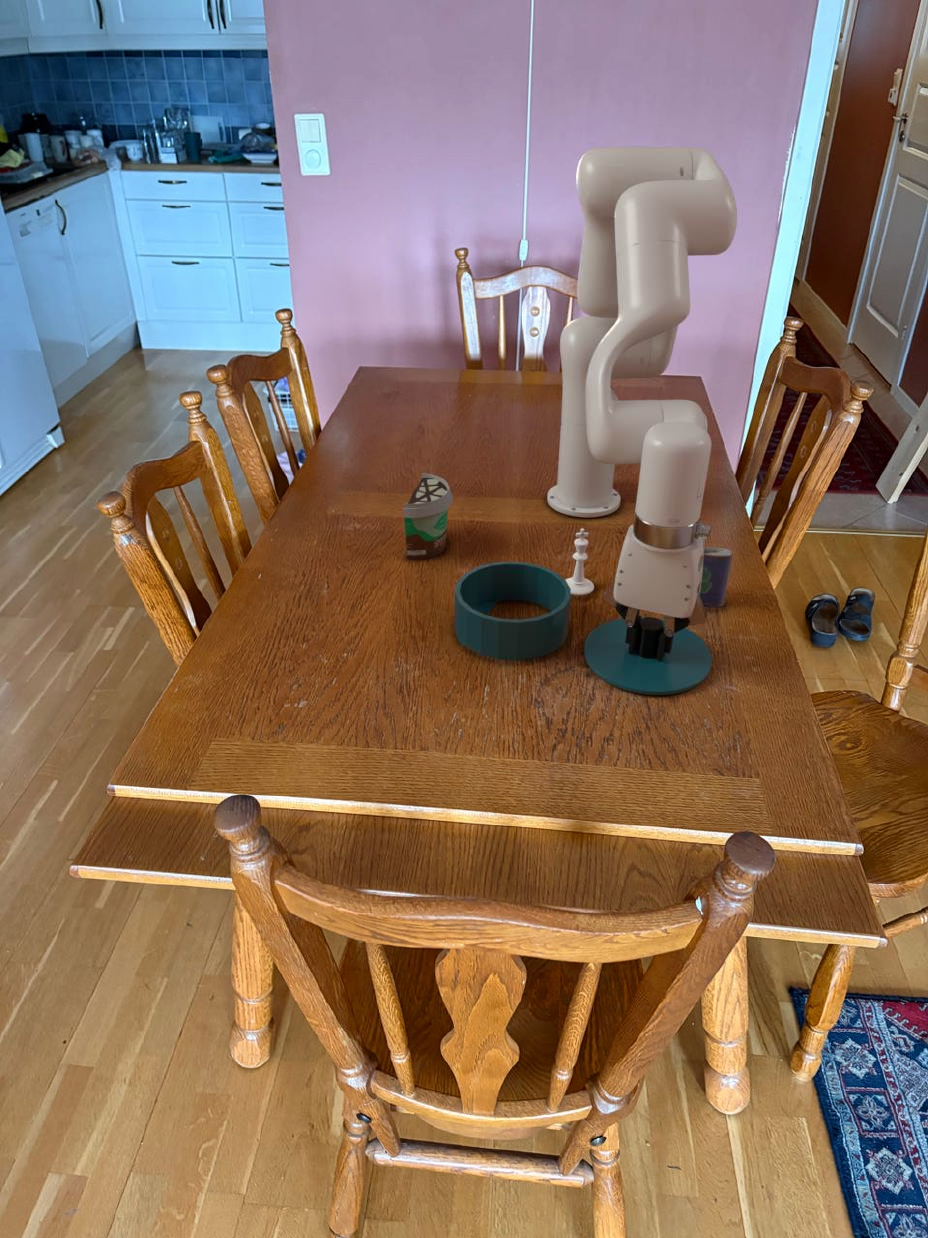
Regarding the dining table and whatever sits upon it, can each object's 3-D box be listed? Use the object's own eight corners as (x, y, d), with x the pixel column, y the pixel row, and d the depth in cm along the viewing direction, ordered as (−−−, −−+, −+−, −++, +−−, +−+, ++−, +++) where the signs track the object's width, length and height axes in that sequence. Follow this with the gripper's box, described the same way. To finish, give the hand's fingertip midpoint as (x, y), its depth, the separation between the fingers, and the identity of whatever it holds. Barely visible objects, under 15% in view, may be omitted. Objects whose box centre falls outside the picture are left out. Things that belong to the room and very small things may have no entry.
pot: (481, 591, 134) (482, 552, 131) (582, 614, 129) (585, 575, 126) (436, 646, 123) (436, 606, 119) (545, 675, 117) (548, 633, 114)
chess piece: (558, 581, 137) (562, 521, 131) (590, 580, 137) (596, 520, 132) (563, 599, 133) (568, 538, 127) (597, 597, 133) (603, 536, 127)
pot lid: (604, 613, 129) (607, 578, 125) (721, 640, 123) (728, 605, 120) (566, 678, 116) (569, 642, 113) (695, 713, 111) (702, 675, 108)
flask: (723, 602, 132) (735, 537, 126) (722, 613, 130) (734, 547, 124) (658, 593, 134) (667, 528, 128) (656, 603, 132) (665, 538, 126)
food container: (443, 567, 140) (442, 509, 134) (404, 563, 141) (402, 505, 136) (460, 530, 150) (460, 474, 145) (423, 527, 151) (422, 471, 146)
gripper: (741, 526, 109) (716, 651, 119) (607, 500, 114) (595, 622, 125) (729, 555, 103) (704, 684, 113) (589, 527, 108) (578, 652, 119)
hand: (647, 650), depth 119 cm, fingers closed on pot lid, 3 cm apart
